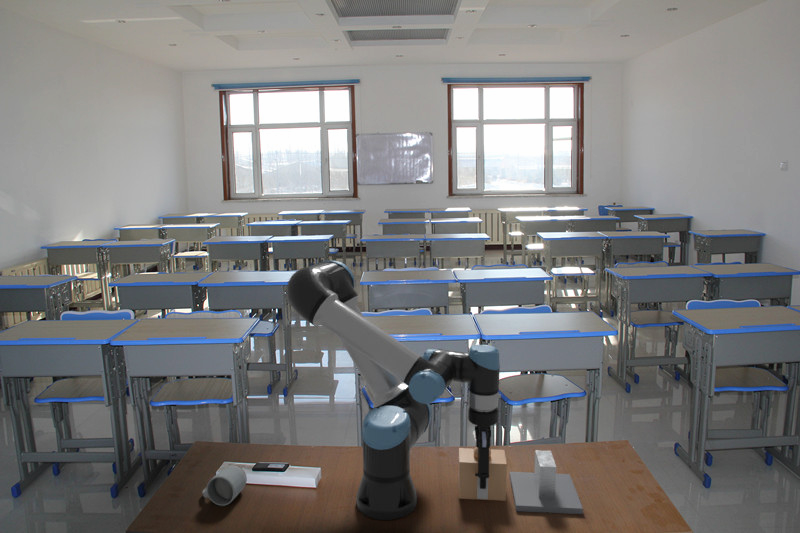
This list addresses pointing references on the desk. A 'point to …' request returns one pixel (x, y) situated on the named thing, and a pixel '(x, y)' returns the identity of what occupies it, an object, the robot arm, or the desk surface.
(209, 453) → the desk surface
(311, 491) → the desk surface
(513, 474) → the grey square plate
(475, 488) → the tan block with dome
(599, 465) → the desk surface
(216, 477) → the ceramic mug
